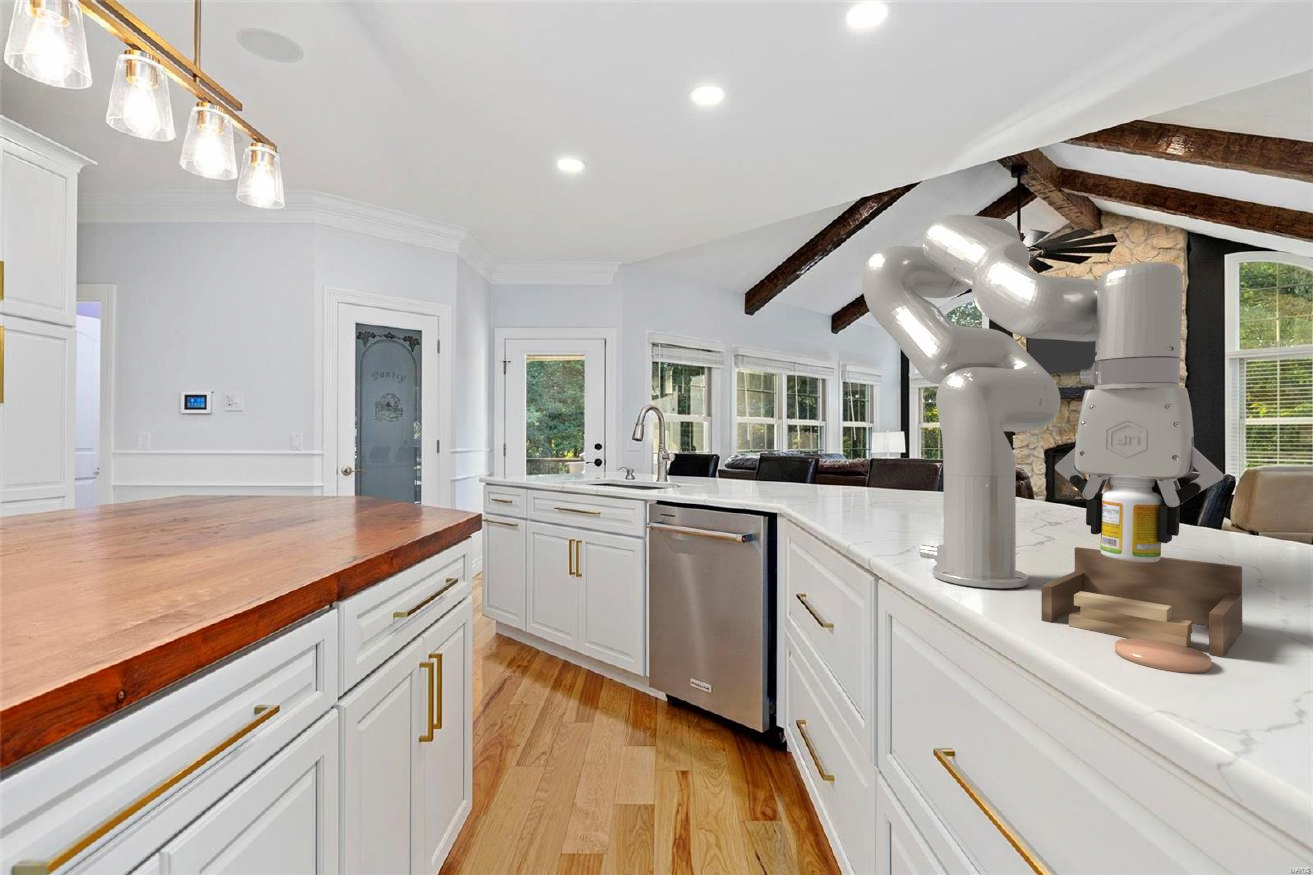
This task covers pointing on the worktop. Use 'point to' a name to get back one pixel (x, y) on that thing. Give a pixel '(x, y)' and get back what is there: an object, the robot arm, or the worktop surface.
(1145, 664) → the terracotta coaster
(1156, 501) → the supplement bottle
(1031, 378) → the robot arm
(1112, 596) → the frame
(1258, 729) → the worktop surface
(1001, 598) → the worktop surface
